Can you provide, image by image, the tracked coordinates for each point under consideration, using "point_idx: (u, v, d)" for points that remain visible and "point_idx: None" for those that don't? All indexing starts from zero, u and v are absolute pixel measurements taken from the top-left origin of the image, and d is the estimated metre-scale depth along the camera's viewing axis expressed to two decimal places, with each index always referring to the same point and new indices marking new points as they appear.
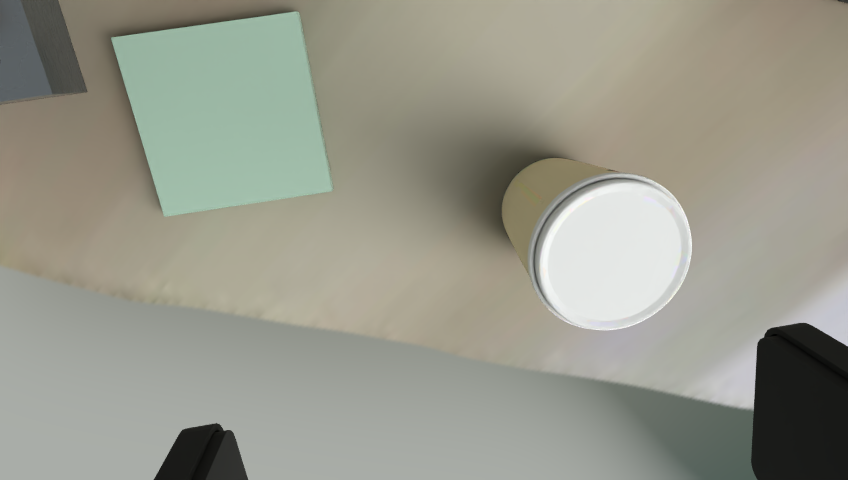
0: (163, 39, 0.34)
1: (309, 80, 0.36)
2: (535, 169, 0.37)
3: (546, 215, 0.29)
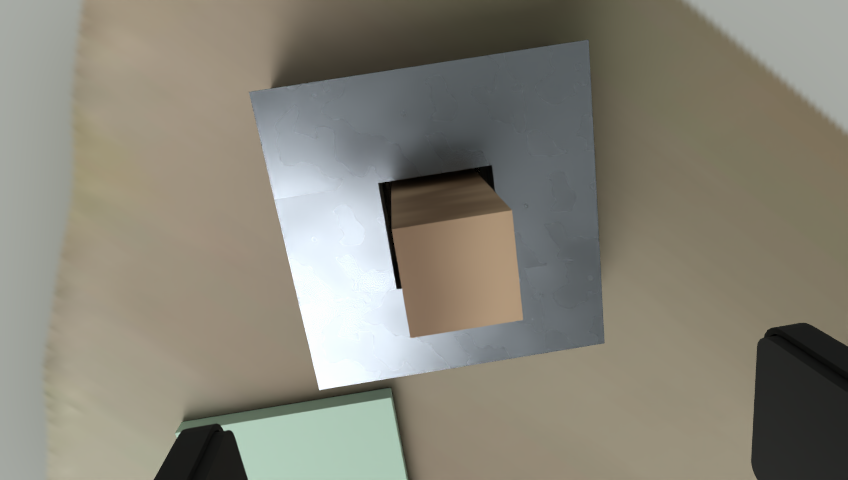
0: (390, 447, 0.30)
1: None
2: None
3: None
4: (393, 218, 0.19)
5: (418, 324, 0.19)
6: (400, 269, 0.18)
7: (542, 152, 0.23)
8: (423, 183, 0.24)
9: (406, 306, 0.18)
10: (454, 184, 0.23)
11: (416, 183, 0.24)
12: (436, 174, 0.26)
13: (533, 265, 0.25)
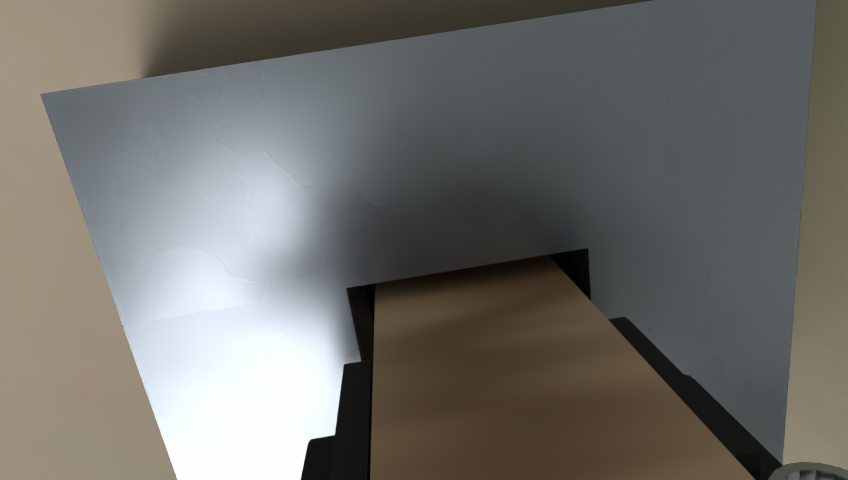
0: None
1: None
2: None
3: None
4: (376, 459, 0.07)
5: None
6: None
7: (694, 220, 0.11)
8: (441, 279, 0.12)
9: None
10: (510, 292, 0.11)
11: (426, 276, 0.12)
12: None
13: None
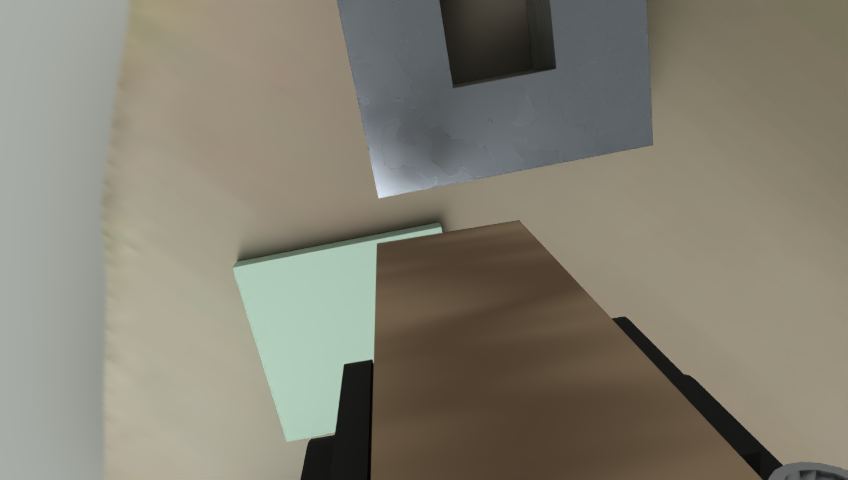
0: None
1: None
2: None
3: None
4: (376, 455, 0.07)
5: None
6: None
7: None
8: (441, 276, 0.12)
9: None
10: (511, 289, 0.11)
11: (426, 274, 0.12)
12: (463, 246, 0.13)
13: (584, 61, 0.25)
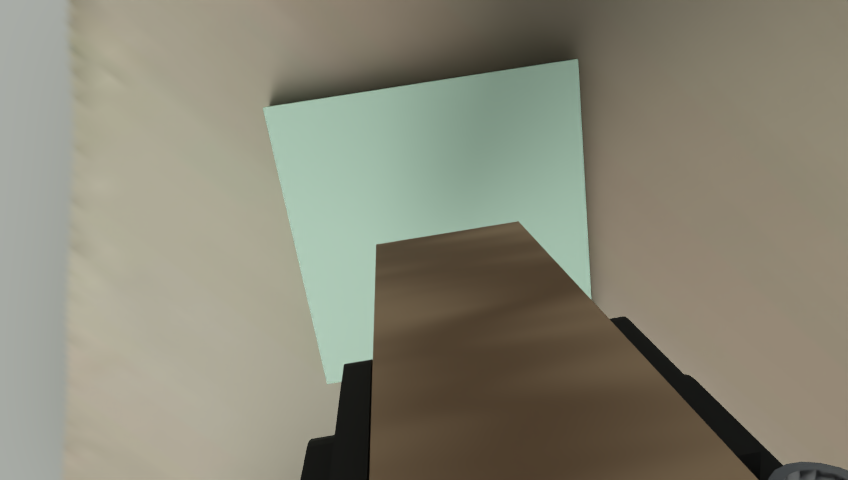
0: (568, 145, 0.21)
1: None
2: None
3: None
4: (375, 457, 0.07)
5: None
6: None
7: None
8: (440, 277, 0.12)
9: None
10: (510, 290, 0.11)
11: (426, 275, 0.12)
12: (462, 247, 0.13)
13: None
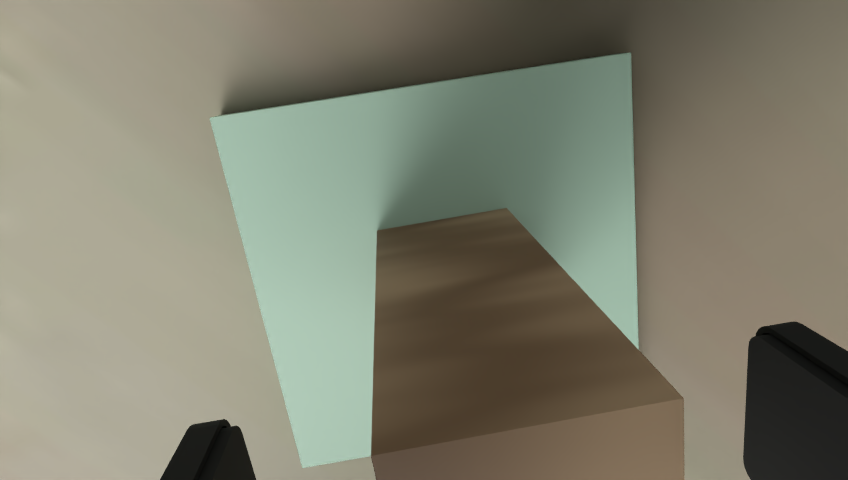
0: (615, 166, 0.16)
1: None
2: None
3: None
4: (377, 391, 0.08)
5: None
6: None
7: None
8: (434, 256, 0.13)
9: None
10: (495, 265, 0.12)
11: (421, 254, 0.13)
12: (454, 231, 0.15)
13: None
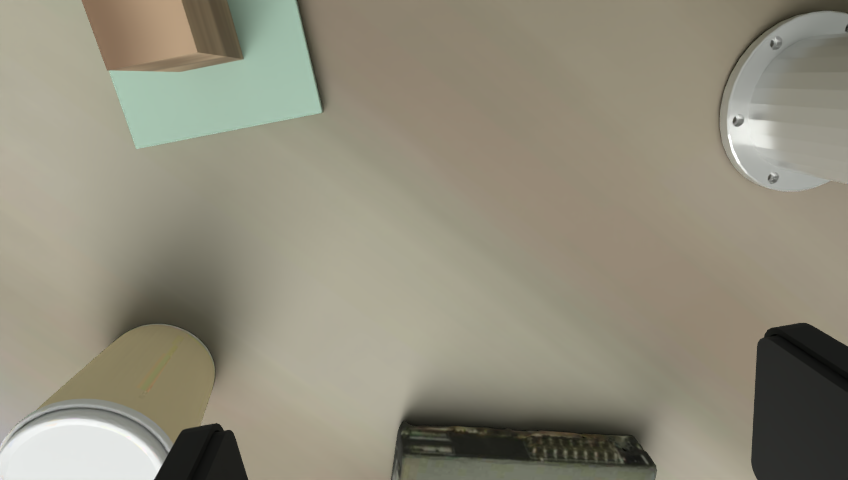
0: None
1: (255, 124, 0.34)
2: (194, 357, 0.37)
3: (120, 412, 0.28)
4: None
5: (111, 57, 0.23)
6: (86, 7, 0.23)
7: None
8: None
9: (97, 41, 0.23)
10: None
11: None
12: None
13: None
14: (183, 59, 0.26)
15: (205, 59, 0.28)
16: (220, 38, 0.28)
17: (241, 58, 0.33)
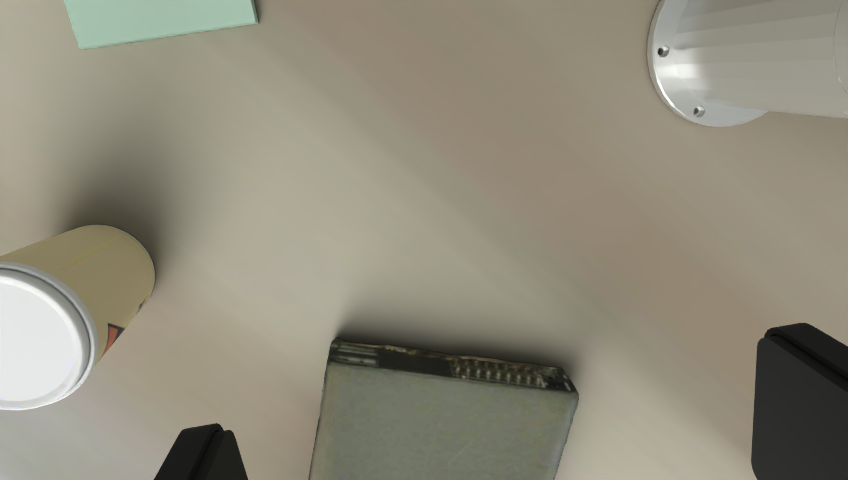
0: None
1: (192, 30, 0.36)
2: (130, 254, 0.39)
3: (38, 275, 0.30)
4: None
5: None
6: None
7: None
8: None
9: None
10: None
11: None
12: None
13: None
14: None
15: None
16: None
17: None
